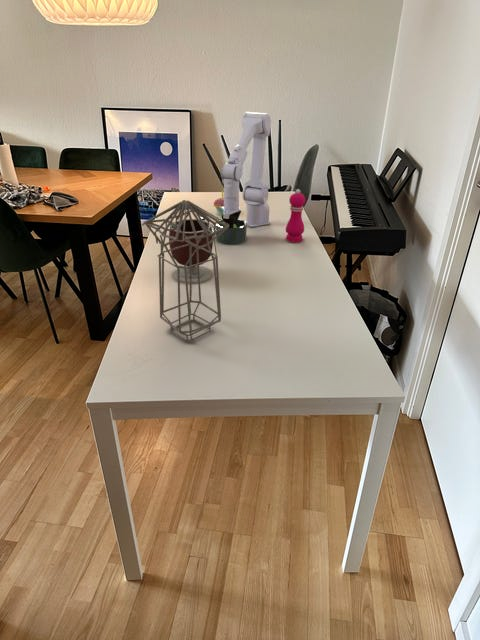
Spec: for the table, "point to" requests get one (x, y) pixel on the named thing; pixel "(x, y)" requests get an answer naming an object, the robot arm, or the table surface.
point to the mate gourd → (184, 252)
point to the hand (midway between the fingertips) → (231, 231)
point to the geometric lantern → (193, 208)
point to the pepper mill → (295, 218)
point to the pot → (233, 234)
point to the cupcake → (219, 204)
